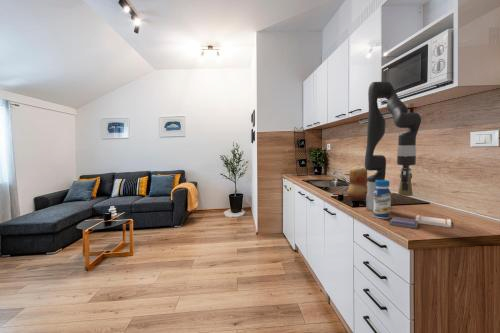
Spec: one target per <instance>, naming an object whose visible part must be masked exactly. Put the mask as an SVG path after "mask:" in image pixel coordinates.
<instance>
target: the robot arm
mask: <svg viewBox="0 0 500 333" xmlns="http://www.w3.org/2000/svg"><path fill="white" fill-rule="evenodd" d="M367 92H368V93H367V94H368V95H367V96H368V118H367V129H366V130H367V132H366V133H367V134H366V150H365V155H364V156H365V157H364V167H365V168H366V170H367V171H368V172H369V171H372V172H373V171H376V172H375V173H374V174H372V175H370V176H367V194H366V199H365V204H366V206H365V210H368V211H371V212H374V199H373V196H374V190H375V188H376V186H375V181H376V180H386V172H387V170H386V169H387V159H386V157H385V155H384V154H381V155H380V154H379V155H377V154H376V155H375V154H374V153H375V150H376V147H377V145H378V144H379V142H380V141H381V140H382V139H383V137H384V135H385V134H386V120H385V118H384V116H383V114H382V112H381V111H380V108H379V106H378V105H379V104H378V99H386V100H387V103H386V108H387V111H388V112H389V113H390V114H391V116H392V119H393V122H394V126H396V127H397V128H399V129H407V131H405V132H401V133H400V134H399V135H398V141H397V142H398V143H397V144H398V145H397V146H398V147H397V151H396V152H397V154H396V156H397V157H396V158H397V160H396V163H397V164H396V165H398V166H402V168H401V169H400V173H401V178H402V180H401V178H400V181H401V182H402V191H404V190H406V191H408V183H409V182H408V179H409V178H410V173H411V172H412V168H410V166H416V164H417V162H416V161H417V147H416V144H417V143H416V142H417V135H418V132H419V128H420V127H421V124H422V118H421V115H420V113H418V112H409V108H408V106H406V104H405V103H404V102H403V101H402V100H401V99H400V97H399V96H398V94H397V91H396V90H395V88H394V86H393V84H392V83H391V82H389V81H387V80H386V81H372V82H371V83H370V84H369V86H368V91H367ZM404 178H406V179H407V180H404Z"/></svg>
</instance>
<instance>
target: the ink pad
mask: <svg viewBox="0 0 500 333" xmlns="http://www.w3.org/2000/svg"><path fill="white" fill-rule="evenodd" d="M388 224H389V226H395V227H402V228H406V229H407V228H409V229H413V230H414V229H416V230H417V228H418V225H419V223H418V221H416V219H415V218H407V217H400V216H393V217H391V218H390V221H389V222H388Z"/></svg>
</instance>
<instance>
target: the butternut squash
mask: <svg viewBox="0 0 500 333" xmlns="http://www.w3.org/2000/svg"><path fill="white" fill-rule="evenodd" d="M348 178H349V186H348V188H347V192H346V194H347V197H348V198H349V200H351V201H353V202H357V201H360V202H359V203H361V202H363V201H366V194H367V178H368V170H366V168H365V166H362V165H360V166H358V165H357V166H352V167H351V168H350V170H349V176H348Z"/></svg>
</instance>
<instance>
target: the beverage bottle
mask: <svg viewBox="0 0 500 333" xmlns="http://www.w3.org/2000/svg"><path fill="white" fill-rule="evenodd" d="M375 186H376V188H375V190H374V196H373V199H374V211H373V212H372V213H373V214H372V216H373V217H375V218H377V219H384V220H387V219H391V202H392V197H391V193H392V192H391V190H390V189H389V187H390V180H388V179H385V180H376V181H375Z"/></svg>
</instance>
